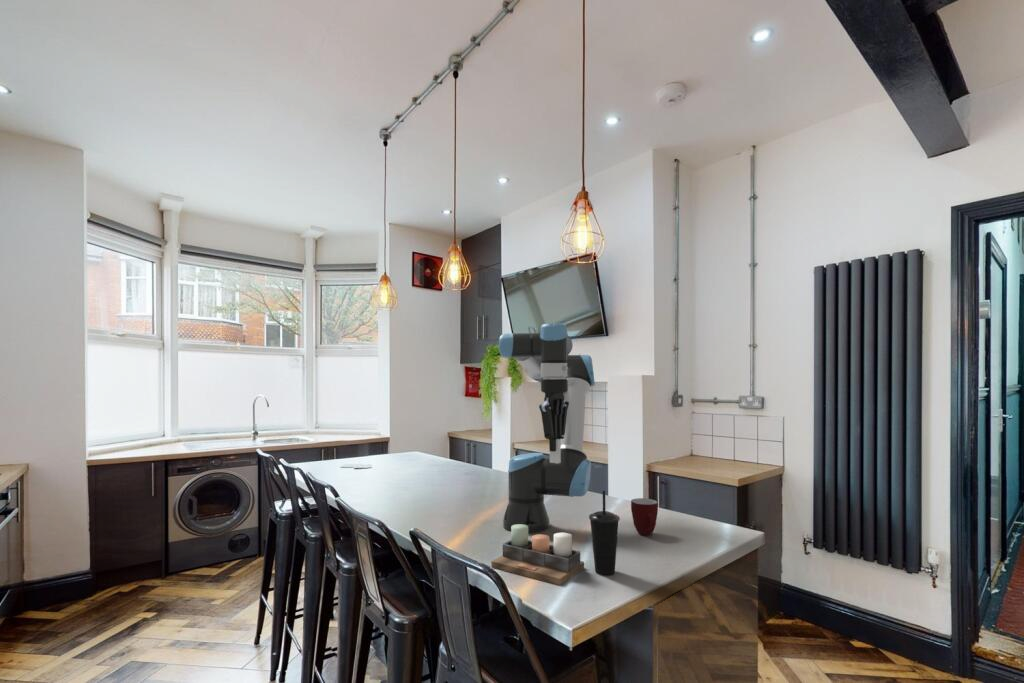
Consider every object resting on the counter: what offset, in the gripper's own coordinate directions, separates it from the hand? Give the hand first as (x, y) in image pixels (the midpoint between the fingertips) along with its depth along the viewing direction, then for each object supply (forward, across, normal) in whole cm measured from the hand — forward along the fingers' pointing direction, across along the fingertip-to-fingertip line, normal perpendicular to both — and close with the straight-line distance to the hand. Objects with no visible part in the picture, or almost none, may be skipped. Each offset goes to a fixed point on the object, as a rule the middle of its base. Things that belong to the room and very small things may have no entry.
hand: (555, 462), depth 141 cm
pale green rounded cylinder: (+21, -11, +5) cm, 24 cm away
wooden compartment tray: (+25, -12, -2) cm, 27 cm away
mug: (+26, +30, -15) cm, 42 cm away
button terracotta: (+22, -10, -1) cm, 25 cm away
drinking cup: (+25, -5, -17) cm, 30 cm away
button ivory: (+21, -10, -8) cm, 24 cm away
